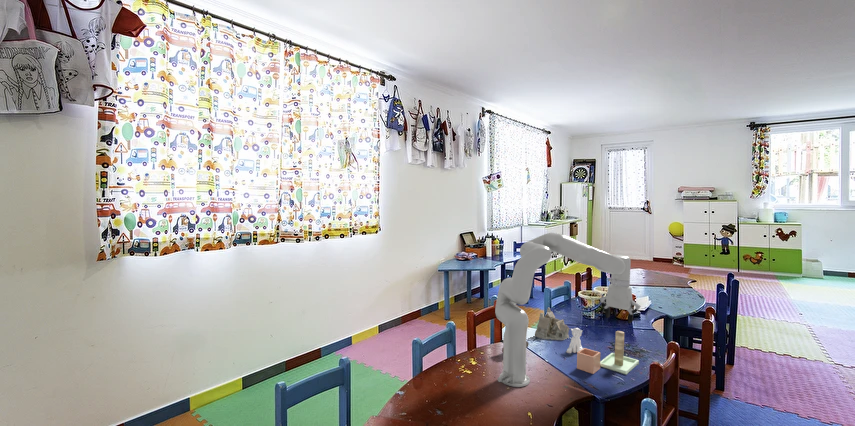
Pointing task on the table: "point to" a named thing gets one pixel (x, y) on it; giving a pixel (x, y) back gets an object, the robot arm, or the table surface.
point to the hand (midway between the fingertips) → (618, 319)
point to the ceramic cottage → (551, 327)
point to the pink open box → (588, 360)
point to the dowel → (619, 348)
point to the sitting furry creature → (575, 341)
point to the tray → (609, 364)
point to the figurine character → (526, 344)
